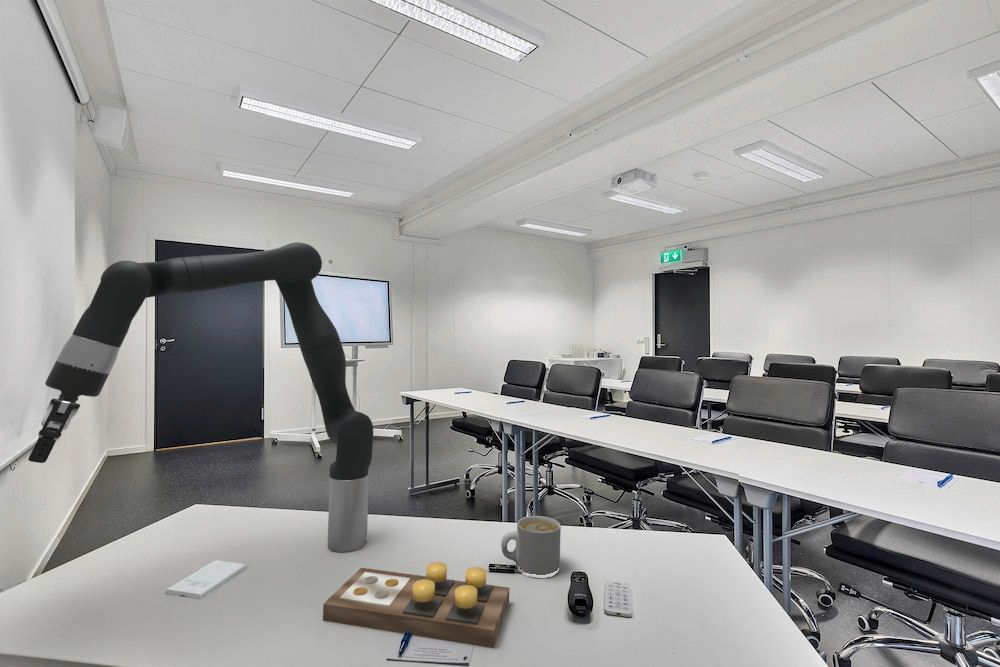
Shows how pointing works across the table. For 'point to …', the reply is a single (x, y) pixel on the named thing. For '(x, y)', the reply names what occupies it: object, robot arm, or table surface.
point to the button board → (417, 608)
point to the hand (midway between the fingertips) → (38, 457)
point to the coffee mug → (535, 545)
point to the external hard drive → (206, 579)
